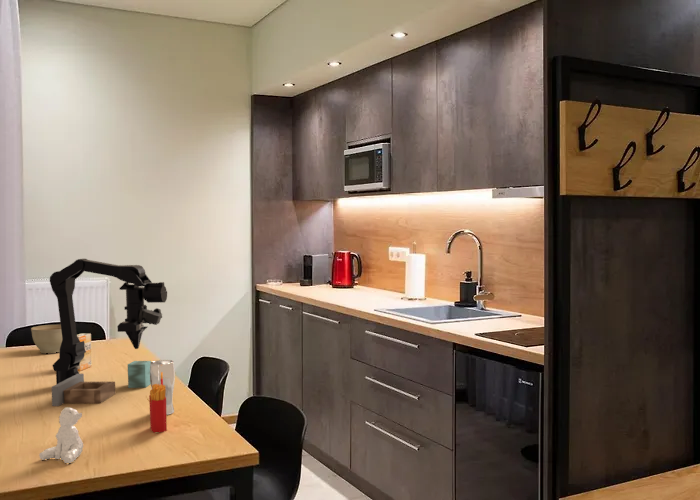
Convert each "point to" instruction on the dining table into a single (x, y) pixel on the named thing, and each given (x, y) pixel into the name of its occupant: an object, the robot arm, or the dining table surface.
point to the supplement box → (86, 361)
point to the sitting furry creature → (66, 438)
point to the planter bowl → (47, 338)
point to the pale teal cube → (139, 374)
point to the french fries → (158, 408)
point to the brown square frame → (89, 392)
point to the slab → (64, 388)
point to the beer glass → (164, 379)
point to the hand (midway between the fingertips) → (136, 348)
